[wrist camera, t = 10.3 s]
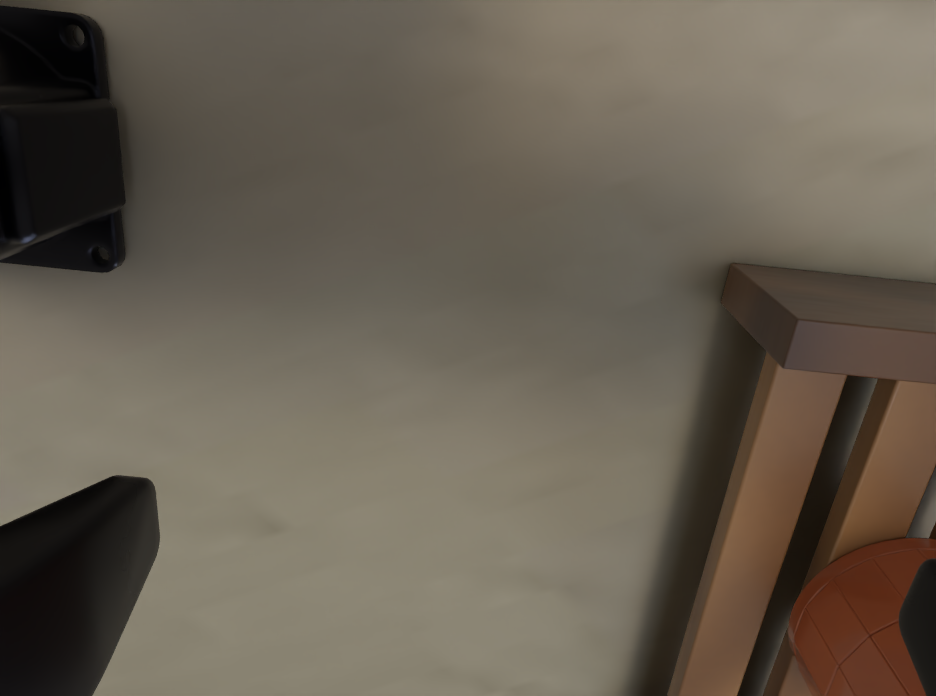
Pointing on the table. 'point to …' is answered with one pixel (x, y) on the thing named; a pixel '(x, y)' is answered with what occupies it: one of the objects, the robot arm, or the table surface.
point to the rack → (811, 451)
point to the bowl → (859, 622)
